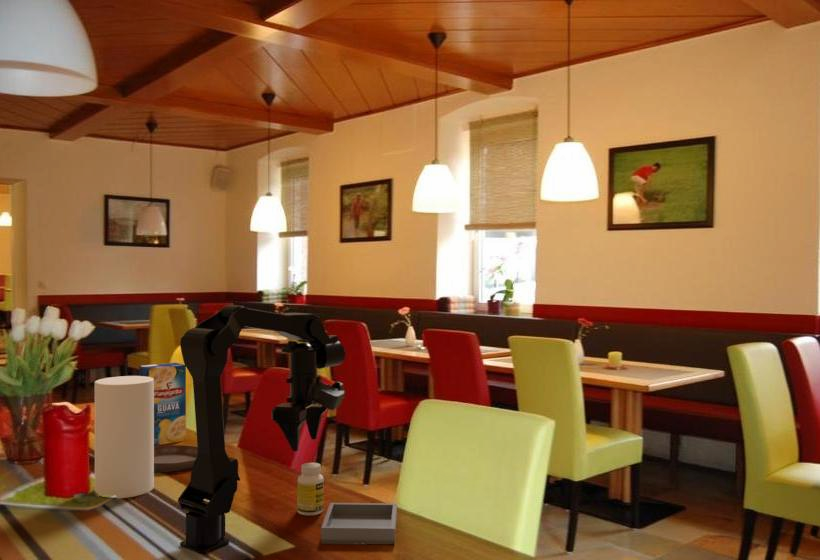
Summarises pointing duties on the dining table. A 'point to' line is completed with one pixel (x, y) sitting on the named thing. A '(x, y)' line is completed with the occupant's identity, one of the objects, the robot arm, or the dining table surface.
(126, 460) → the cylinder
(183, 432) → the beverage box
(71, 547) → the dining table surface
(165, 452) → the plant saucer
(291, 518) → the dining table surface
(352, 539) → the gray rectangular open tray
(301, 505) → the supplement bottle
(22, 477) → the dining table surface
